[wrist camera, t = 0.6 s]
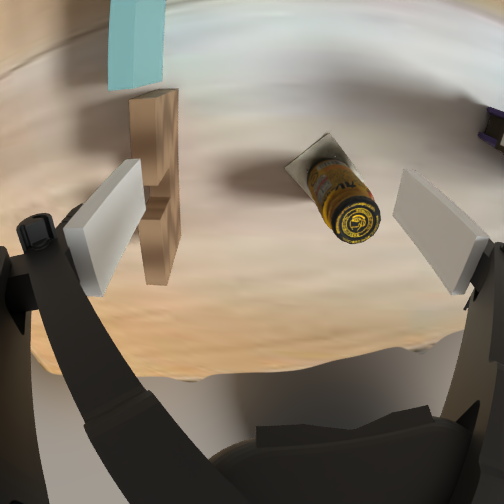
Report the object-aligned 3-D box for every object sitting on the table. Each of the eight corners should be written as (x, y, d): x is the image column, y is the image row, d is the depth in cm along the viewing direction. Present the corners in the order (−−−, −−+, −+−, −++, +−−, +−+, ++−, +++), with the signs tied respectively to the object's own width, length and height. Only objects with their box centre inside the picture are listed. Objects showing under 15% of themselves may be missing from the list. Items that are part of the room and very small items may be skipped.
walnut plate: (158, 89, 33) (129, 99, 24) (178, 88, 33) (155, 98, 24) (164, 235, 44) (146, 284, 35) (181, 235, 44) (166, 285, 35)
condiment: (323, 212, 43) (347, 263, 33) (284, 167, 39) (300, 208, 29) (364, 180, 40) (402, 222, 30) (328, 132, 37) (362, 160, 27)
